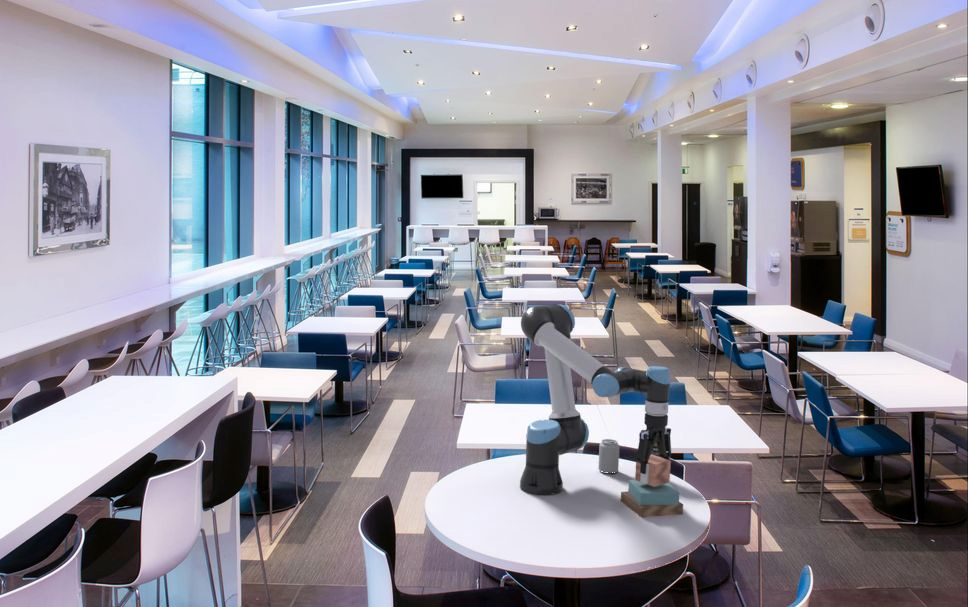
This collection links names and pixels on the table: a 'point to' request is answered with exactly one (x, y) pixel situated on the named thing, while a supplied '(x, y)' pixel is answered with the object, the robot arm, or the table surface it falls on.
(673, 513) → the tower base
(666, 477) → the block
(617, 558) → the table surface
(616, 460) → the can
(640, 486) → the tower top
